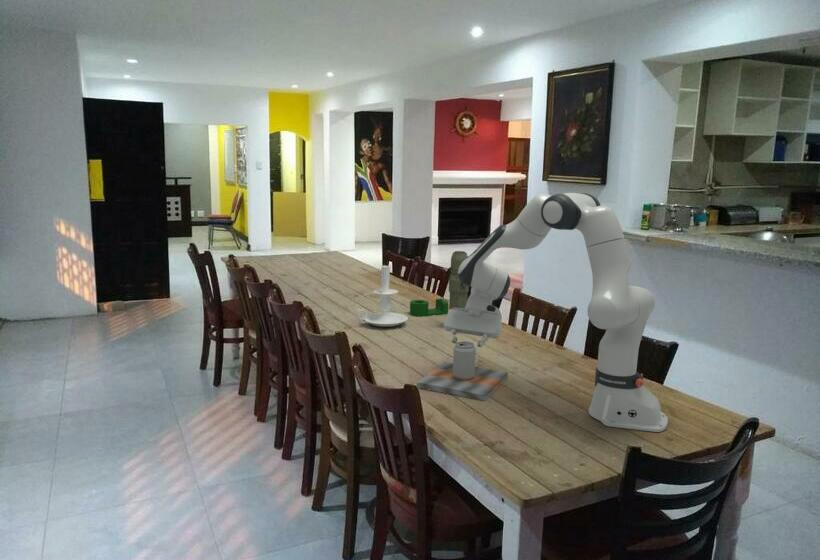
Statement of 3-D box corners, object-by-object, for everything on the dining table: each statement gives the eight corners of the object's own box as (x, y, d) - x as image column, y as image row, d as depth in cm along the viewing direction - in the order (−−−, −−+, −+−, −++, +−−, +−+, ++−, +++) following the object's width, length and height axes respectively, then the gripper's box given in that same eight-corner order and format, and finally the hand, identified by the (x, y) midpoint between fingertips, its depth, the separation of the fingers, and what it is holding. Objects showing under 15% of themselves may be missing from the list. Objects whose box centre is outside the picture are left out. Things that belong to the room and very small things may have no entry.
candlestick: (347, 322, 286) (347, 263, 280) (394, 316, 298) (395, 259, 292) (366, 334, 268) (366, 270, 263) (415, 327, 280) (416, 266, 275)
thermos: (458, 324, 286) (460, 249, 279) (472, 330, 276) (475, 253, 269) (442, 326, 282) (444, 250, 275) (456, 333, 271) (458, 254, 264)
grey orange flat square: (507, 377, 218) (507, 372, 217) (484, 401, 197) (484, 395, 196) (444, 366, 228) (444, 361, 228) (416, 387, 207) (416, 382, 206)
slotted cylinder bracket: (414, 317, 297) (414, 304, 296) (407, 313, 306) (407, 300, 304) (447, 314, 304) (448, 301, 303) (440, 310, 312) (440, 298, 311)
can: (462, 371, 217) (463, 338, 215) (479, 377, 212) (480, 343, 209) (448, 376, 212) (449, 343, 210) (464, 382, 207) (466, 348, 204)
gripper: (447, 302, 221) (436, 335, 214) (503, 309, 212) (492, 344, 205) (452, 311, 225) (440, 344, 219) (506, 318, 217) (496, 353, 210)
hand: (466, 344), depth 212 cm, fingers open, 8 cm apart
